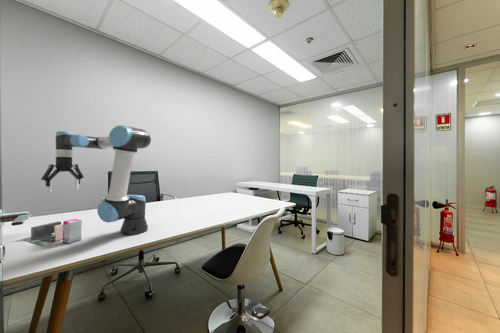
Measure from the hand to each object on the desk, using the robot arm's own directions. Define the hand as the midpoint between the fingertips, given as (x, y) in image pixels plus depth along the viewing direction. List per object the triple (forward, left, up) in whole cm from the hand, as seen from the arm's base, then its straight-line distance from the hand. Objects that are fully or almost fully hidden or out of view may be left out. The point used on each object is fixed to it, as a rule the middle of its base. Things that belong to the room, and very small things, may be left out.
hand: (63, 190), depth 122 cm
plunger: (-14, +11, -24) cm, 30 cm away
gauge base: (-9, +10, -25) cm, 28 cm away
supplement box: (-24, +9, -25) cm, 36 cm away
